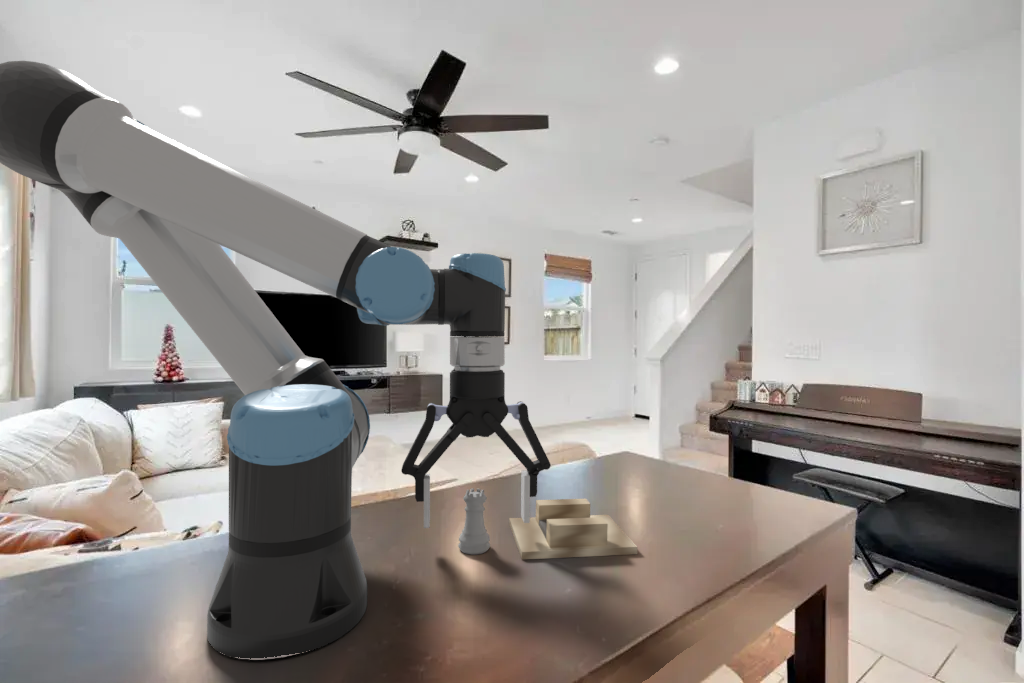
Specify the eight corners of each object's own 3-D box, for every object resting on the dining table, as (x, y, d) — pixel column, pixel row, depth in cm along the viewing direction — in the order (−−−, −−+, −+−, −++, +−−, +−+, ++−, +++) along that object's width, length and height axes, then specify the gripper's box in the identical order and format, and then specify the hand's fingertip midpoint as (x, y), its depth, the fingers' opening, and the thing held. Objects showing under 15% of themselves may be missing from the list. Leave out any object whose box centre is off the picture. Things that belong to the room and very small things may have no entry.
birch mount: (521, 559, 65) (522, 529, 65) (509, 524, 77) (509, 499, 77) (637, 554, 68) (637, 524, 68) (607, 520, 80) (608, 496, 80)
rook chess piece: (496, 546, 69) (497, 489, 69) (477, 558, 66) (478, 498, 65) (471, 539, 72) (471, 484, 72) (451, 550, 68) (452, 492, 68)
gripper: (380, 371, 63) (380, 537, 63) (572, 370, 66) (571, 527, 67) (387, 366, 70) (387, 515, 71) (559, 366, 74) (558, 508, 74)
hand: (476, 522), depth 69 cm, fingers open, 13 cm apart
